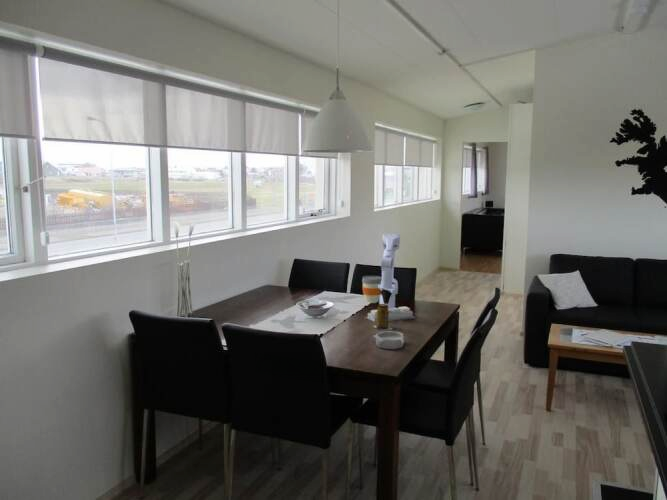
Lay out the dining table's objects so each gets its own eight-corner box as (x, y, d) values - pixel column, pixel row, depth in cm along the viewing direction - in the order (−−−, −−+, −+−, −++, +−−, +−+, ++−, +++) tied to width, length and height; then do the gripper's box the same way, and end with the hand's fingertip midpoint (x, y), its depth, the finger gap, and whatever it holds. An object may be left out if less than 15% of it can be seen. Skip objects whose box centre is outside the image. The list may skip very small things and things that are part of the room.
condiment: (384, 325, 287) (385, 302, 285) (393, 329, 279) (394, 306, 277) (372, 326, 283) (373, 304, 282) (381, 331, 276) (381, 307, 274)
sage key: (370, 315, 297) (370, 310, 297) (377, 314, 299) (377, 309, 299) (374, 317, 293) (375, 312, 293) (381, 316, 295) (382, 311, 295)
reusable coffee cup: (385, 300, 340) (386, 277, 338) (375, 304, 329) (376, 280, 327) (367, 298, 346) (368, 274, 344) (357, 301, 336) (358, 277, 334)
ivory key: (398, 312, 305) (398, 307, 305) (405, 311, 307) (405, 306, 307) (402, 314, 301) (403, 309, 301) (409, 313, 303) (409, 308, 303)
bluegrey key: (389, 313, 303) (389, 308, 302) (396, 312, 305) (396, 307, 304) (393, 315, 299) (393, 310, 298) (400, 314, 301) (400, 309, 300)
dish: (402, 340, 261) (402, 330, 260) (407, 350, 247) (407, 339, 246) (372, 340, 260) (372, 330, 260) (375, 350, 247) (375, 339, 246)
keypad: (364, 317, 300) (364, 312, 300) (403, 312, 312) (404, 307, 311) (375, 323, 290) (375, 317, 289) (416, 317, 301) (416, 312, 301)
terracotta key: (380, 314, 300) (380, 309, 300) (386, 313, 302) (387, 308, 302) (384, 316, 296) (384, 311, 296) (391, 315, 298) (391, 310, 298)
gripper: (373, 277, 301) (372, 301, 303) (387, 282, 288) (386, 307, 290) (384, 276, 304) (383, 300, 306) (398, 281, 291) (398, 306, 293)
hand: (386, 303), depth 298 cm, fingers closed
